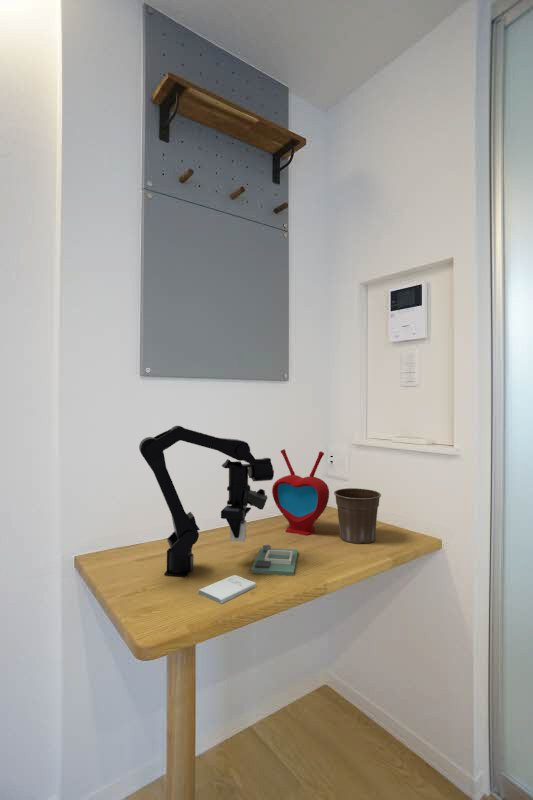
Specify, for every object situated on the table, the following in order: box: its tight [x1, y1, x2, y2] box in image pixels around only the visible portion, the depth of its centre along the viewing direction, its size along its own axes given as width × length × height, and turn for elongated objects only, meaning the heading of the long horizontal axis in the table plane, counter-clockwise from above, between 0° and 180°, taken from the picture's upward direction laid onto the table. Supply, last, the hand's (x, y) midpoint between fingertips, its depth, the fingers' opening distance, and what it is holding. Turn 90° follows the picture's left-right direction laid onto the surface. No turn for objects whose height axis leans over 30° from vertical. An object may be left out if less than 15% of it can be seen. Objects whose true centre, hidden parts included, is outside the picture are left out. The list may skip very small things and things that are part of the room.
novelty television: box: [271, 449, 330, 536], centre depth 155 cm, size 21×13×30 cm, turn 62°
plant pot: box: [333, 487, 382, 545], centre depth 145 cm, size 16×16×16 cm
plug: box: [229, 518, 247, 543], centre depth 122 cm, size 4×4×6 cm
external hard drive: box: [197, 574, 257, 605], centre depth 104 cm, size 2×8×12 cm
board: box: [250, 544, 299, 577], centre depth 123 cm, size 12×18×3 cm, turn 172°
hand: (238, 535), depth 122 cm, fingers closed on plug, 4 cm apart
